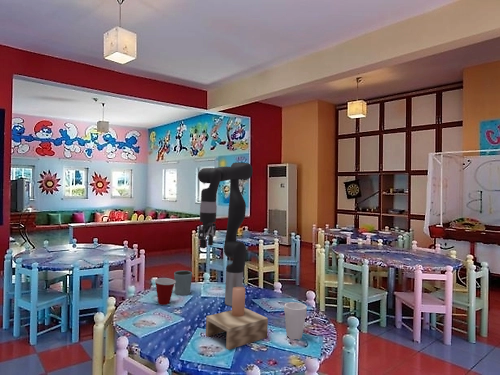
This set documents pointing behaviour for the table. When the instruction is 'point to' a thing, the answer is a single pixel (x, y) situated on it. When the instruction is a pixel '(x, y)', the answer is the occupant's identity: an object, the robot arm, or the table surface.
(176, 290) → the drinking glass
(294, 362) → the table surface
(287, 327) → the foam cup
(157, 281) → the plastic cup
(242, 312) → the tan dome-topped peg
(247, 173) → the robot arm
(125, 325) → the table surface
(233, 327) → the wooden stand
